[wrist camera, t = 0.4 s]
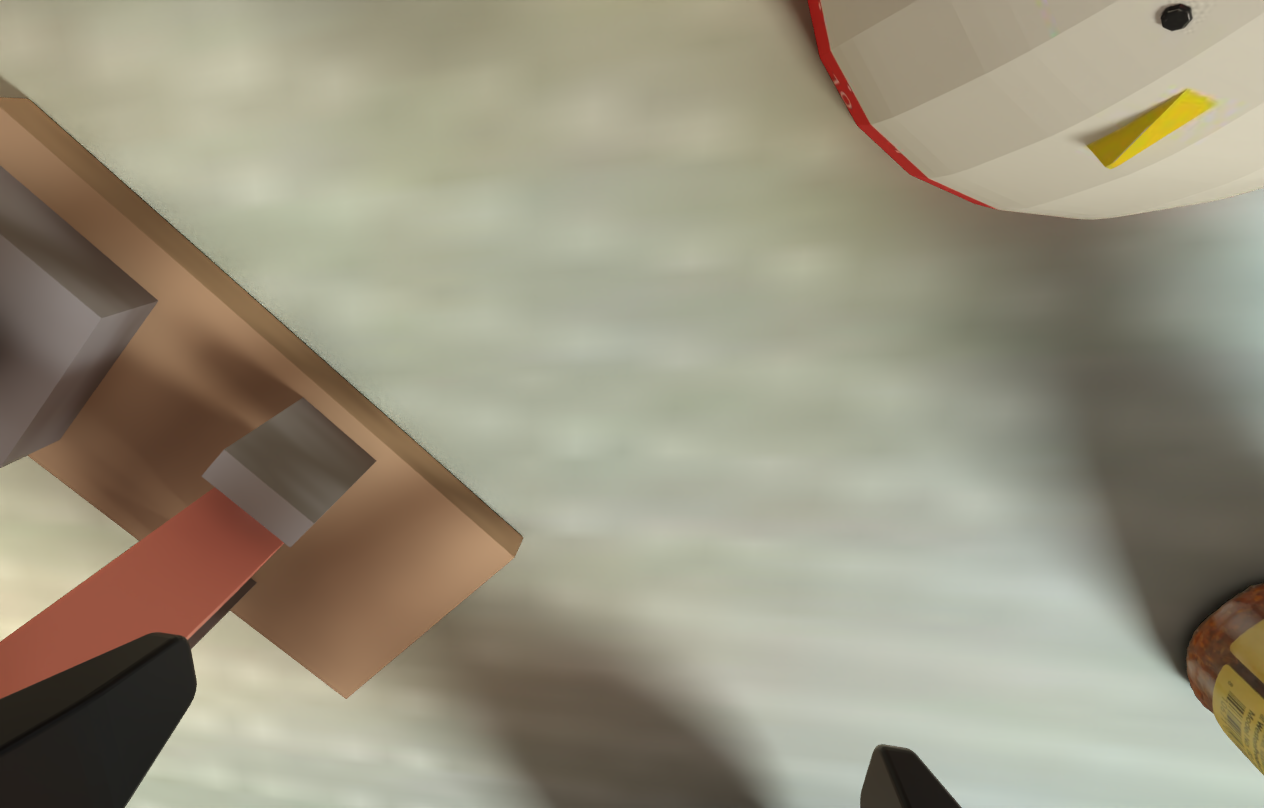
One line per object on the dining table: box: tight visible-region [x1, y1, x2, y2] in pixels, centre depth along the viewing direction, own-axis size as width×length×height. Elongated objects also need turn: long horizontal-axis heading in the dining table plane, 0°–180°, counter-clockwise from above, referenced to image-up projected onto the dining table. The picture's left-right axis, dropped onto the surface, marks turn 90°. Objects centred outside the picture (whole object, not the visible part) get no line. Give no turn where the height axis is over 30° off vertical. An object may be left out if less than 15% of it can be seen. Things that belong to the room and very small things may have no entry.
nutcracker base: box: [0, 97, 523, 699], centre depth 21 cm, size 20×10×5 cm, turn 44°
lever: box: [0, 487, 284, 699], centre depth 16 cm, size 3×5×12 cm, turn 134°
